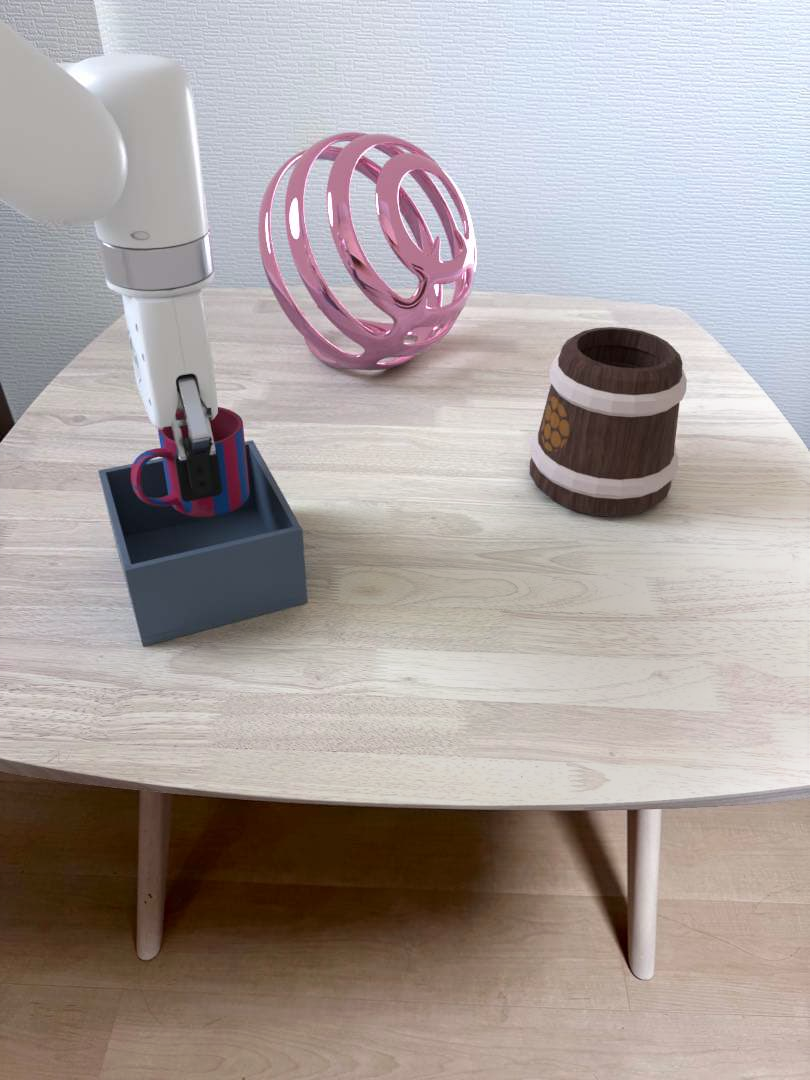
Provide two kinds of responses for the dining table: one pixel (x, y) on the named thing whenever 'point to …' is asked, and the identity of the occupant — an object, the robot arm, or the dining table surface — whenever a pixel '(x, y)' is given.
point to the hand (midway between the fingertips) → (192, 471)
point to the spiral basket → (420, 259)
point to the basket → (204, 553)
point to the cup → (231, 468)
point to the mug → (610, 423)
